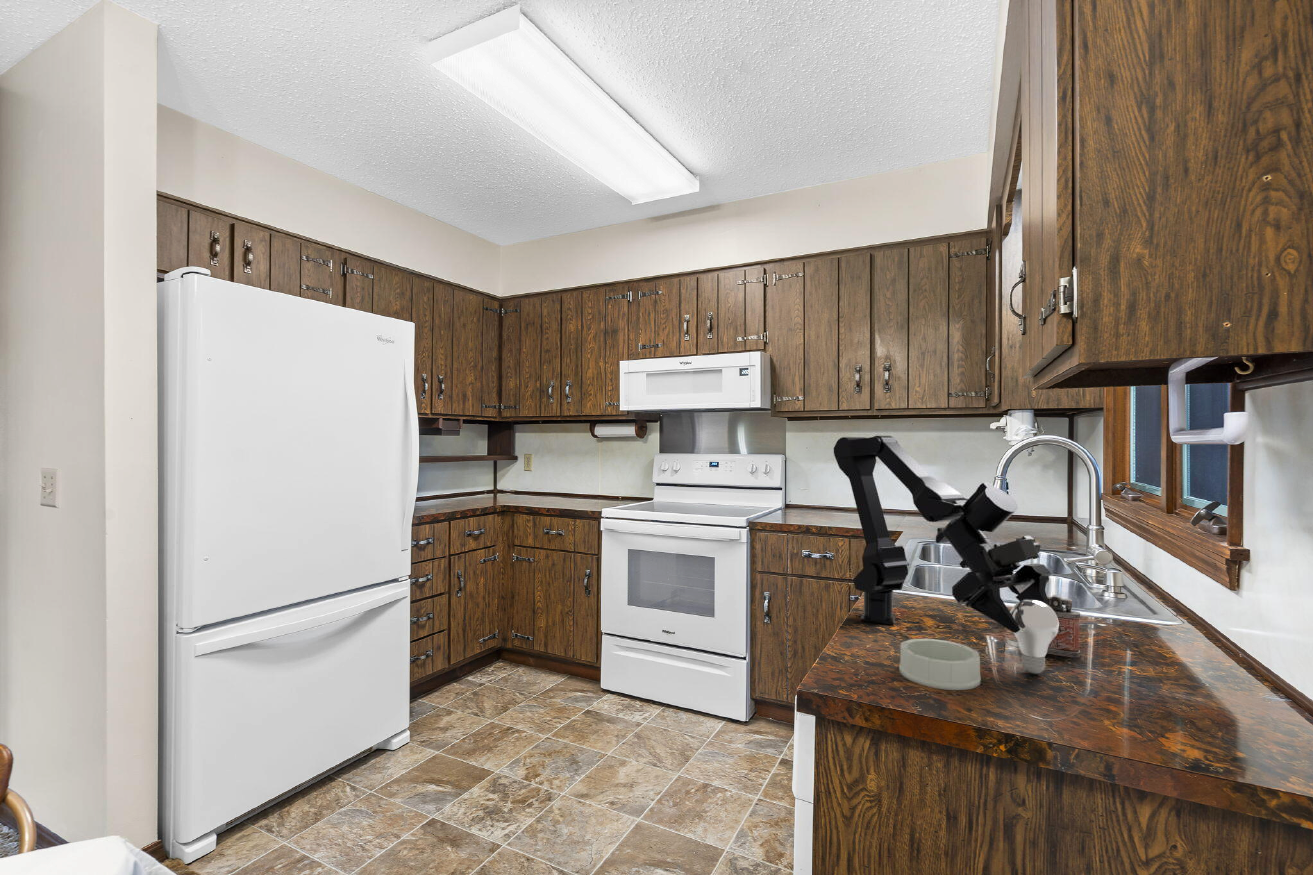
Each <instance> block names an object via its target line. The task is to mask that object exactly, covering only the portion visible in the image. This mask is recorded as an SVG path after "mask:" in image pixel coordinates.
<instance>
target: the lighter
mask: <svg viewBox="0 0 1313 875" xmlns="http://www.w3.org/2000/svg"><path fill="white" fill-rule="evenodd" d="M1047 598H1048V601H1049V604H1050V606H1051V608H1052V609H1053V610H1054V611H1055V613H1056V615H1057V617H1058V621H1059V630H1058V633H1057V635H1056V636H1055V638H1054V639H1053V640H1052V642H1051V643H1050V645H1049V647H1048V652H1047V654H1048V655H1049V654H1050V655H1055V656H1062V657H1070V658H1080V656H1081V650H1080V619H1081V612H1079V611H1075V610H1072V608H1073V600H1072V599H1071V598H1064V597H1061V596H1060V595H1058V594H1052V596H1048V595H1047ZM1064 606H1065V608H1064Z"/></svg>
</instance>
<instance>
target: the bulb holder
mask: <svg viewBox="0 0 1313 875" xmlns="http://www.w3.org/2000/svg"><path fill="white" fill-rule="evenodd" d="M898 664H899V665H898V666H899V670H898V671H899V673H900V674H901V676H902V677H904V678H905V679H907V680H908V681H911V682H913V683H916V684H918V685H922V686H925V687H929V688H932V689H933V688H934V689H939V690H948V691H965V690H967V691H968V690H972V689H975V688H978V687H979V686H980V684H981V682H982V680H981V657H980V654H979V651H977V650H975V649H973V648H971V647H969V646H968V645H964V644H960V643H957V642H953V641H949V640H943V639H933V638H911V639H908V640H904V641H902V642H900V661H899V663H898Z"/></svg>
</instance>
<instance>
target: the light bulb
mask: <svg viewBox="0 0 1313 875" xmlns="http://www.w3.org/2000/svg"><path fill="white" fill-rule="evenodd" d="M1009 611H1010V613H1011V614H1012V616H1013V617H1014V619H1015V620H1016V622H1017V624H1018V626H1019V628H1020V631H1018V632H1017V633H1014V632H1012V633H1013V634H1014V636H1015V638H1016V640H1017V642H1018V648H1019V650H1020V653H1021V660H1020V661H1021V662H1020V664H1021V666H1022V668H1024V669H1025V671H1026V672H1028V674H1029V675H1033V676H1037V675H1038V674H1040V673H1042V672H1043V671H1044V670H1045V668H1046V658H1045V657H1046V655H1047V654H1048V653H1047V652H1048V647H1049V645H1050V643H1051V642H1052V640H1053V639H1054V638H1055V636H1056V635H1057V633H1058V630H1059V621H1058V617H1057V615H1056V613H1055V611H1054V610H1053V609H1052V608H1051V607H1050V606H1049V605H1047V604H1046V603H1044V602H1042V601H1040V600H1036V599H1025V600H1022V601H1018V602H1016V604H1014V605H1013V606H1012V607H1011V609H1010V610H1009Z"/></svg>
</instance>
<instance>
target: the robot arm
mask: <svg viewBox="0 0 1313 875" xmlns="http://www.w3.org/2000/svg"><path fill="white" fill-rule="evenodd" d="M833 456H834V457H835V460H836V463H837V466H838V468H839V469H840V471H841V472H842V473H843V474H844V475H845V476H846V477H847V478H848V480H849V483H850V487H851V491H852V495H853V498H854V501H855V502H854V503H855V507H856V510H857V514H858V518H859V521H860V525H861V530H862V534H863V537H864V542H865V546H864V550H863V552H862V556H861V561H862V569H861V570H860V571H859V573H857V575H856V576H855V577H854V578H853V580H852V581H853V585H854V589H855V590H858V591H861V592H863V611H862V613H861V616H860V621H862V622H867V623H876V624H877V623H878V624H886V625H894V624H895V620H896V614H894V613H893V612H894V611H893V610H894V607H893V606H894V605H893V603H894V599H893V598H894V596H893V595H894V593H893V592H894V591H902V589H903V586H904V582H905V580H906V578H907V576H908V575H909V569H908V566H910V563H909V561H908V559H907V557H906V550H905V548H904V546H902V545H896V544H895V543H894V542H893V541H892V540H891V537H890V534H889V531H888V526H887V522H886V518H885V514H884V512H883V508H882V503H881V500H880V496H879V494H878V493H879V492H878V489H877V485H876V483H875V477H874V471H875V467H876V463H877V458H878V459H879V460H880V461H881V463H882V464H884V466H886V467H887V469H888V470H889V471H890V472H891V473H892V475H894V476H895V477H896V479H898V480H899V481H900V483H901V484H902V485H903V486H904V487H905V488H906V489H907V490H908V491H909V492H910V494H911V495H912V501H913V505H914V506H915V508H916V509H917V511H918V512H919V514H920V515H921V517H922V518H923V519H924V520H925V521H927V522H931V523H938V522H939V523H940V522H948V523H947V524H946V525H945V526H944V527H937V530H936V531H937V533H936V536H935V542H936V543H937V544H941V543H942V544H944V543H949V544H950V545H951V546H952V548H953V549H954V550H955V552H956V553H957V555H959V557H960V559H961V561H960V562H959V566H960V567H961V568H962V569H969V570H970V571H968V572H966V574H965V575H963V576H962V577H961V578H960V579H959V580H958V581H957V582H956V583H955V584H953V585H952V587H951V595H952V597H953V598H954V600H955V601H956V603H957V604H958V605H962V604H964V605H965V607H967V608H970V609H972V610H975V611H976V612H978V613H980V614H982V615H984V616H985V617H987V618H989V619H991V620H993V621H994V622H996V623H997V624H999V625H1001V626H1002V627H1004V628H1005V629H1007V630H1009V631H1010V632H1012V633H1013V632H1014V633H1017V632H1018V631H1020V628H1019V626H1018V624H1017V622H1016V620H1015V619H1014V617H1013V616H1012V614H1011V613H1010V611H1011V610H1010V609H1009V608H1008V606H1007V605H1006V604H1005V602H1004V601H1003V599H1002V597H1001V589H1003V588H1008V589H1009V590H1010V592H1012V593H1013V594H1015V595H1017V596H1015V598H1016V599H1017V601H1018V602H1020V601H1022V600H1025V599H1036V600H1040V601H1042V602H1044V603H1046V604H1047V605H1049V606H1050V603H1049V601H1048V598H1047V596H1048V595H1047V592H1046V587H1047V583H1048V582H1049V581H1050V577H1051V576H1052V572H1051V570H1049V569H1048V568H1047V566H1046V565H1045V564H1042V563H1029V564H1024V565H1023V566H1022V565H1021V564H1020V563H1022V562H1025V561H1028V560H1032V559H1033V560H1036V559H1039V558H1040V556H1039V553H1040V552H1041V544H1040V543H1038V542H1037V540H1036V539H1035V538H1033V537H1032V536H1031V535H1023V536H1022V537H1017V538H1015V540H1013V541H1010V542H1007V543H1004V544H1003V543H1001V542H992V541H991V540H990V538H989V537H988V536H987V535H986V533H987V532H988V533H994V532H995V531H997V529H998V528H1000V527H1001V526H1002V525H1003V523H1005V522H1006V521H1007V520H1008V519H1009V518H1010V517H1012V516H1013V514H1014V513H1015V512H1017V510H1018V507H1019V506H1018V503H1017V502H1016V500H1015V499H1014V498H1013V497H1012V496H1011V495H1010V494H1008V493H1007V492H1005V491H1004V490H1002V489H1000V488H997V487H995V486H994V485H993V484H992V483H991V482H982V483H980V485H979V486H978V487H977V489H976V490H975V491H974V493H973V494H972V495H971V496H970V497H969V498H966V497H964V496H963V495H962V493H961V492H959V491H958V490H957V489H955V488H953V487H952V486H950V485H949V484H947V483H945V482H943V481H940V480H938V479H936V478H934V477H933V476H931V475H930V473H928V472H927V471H926V469H924V468H923V466H921V464H919V463H918V461H916V460H915V459H914V458H913V457H912V456H911V455H910V454H909V453H908V452H907V451H906V450H905V449H904V448H903V447H902V446H901V445H900V444H899V442H898V440H897V439H896V437H894V436H891V435H874V436H872V437H862V436H860V437H859V436H858V437H857V436H856V437H855V436H853V437H852V436H842V437H840V438H839V439H837V441H836V443H835V444H834V447H833ZM985 532H986V533H985ZM1014 571H1016V572H1014ZM1050 607H1051V606H1050ZM1014 633H1013V634H1014Z"/></svg>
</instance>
